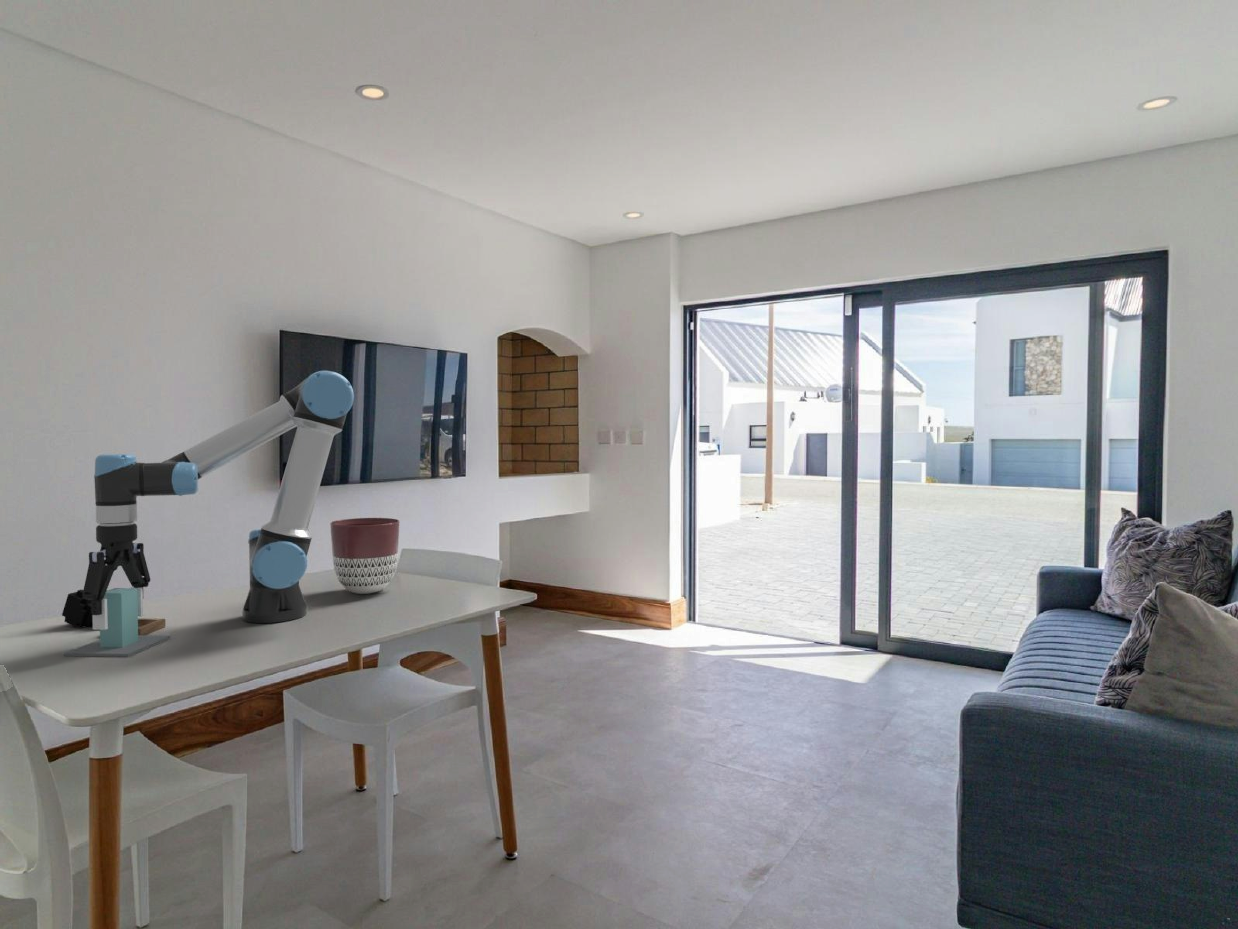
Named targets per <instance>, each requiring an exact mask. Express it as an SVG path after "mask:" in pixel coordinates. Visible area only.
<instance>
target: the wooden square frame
mask: <svg viewBox="0 0 1238 929" xmlns="http://www.w3.org/2000/svg"><path fill="white" fill-rule="evenodd" d="M165 627H166V618H142V617H141V618H140V617H138V635H149V634H151V633H154V632H156V631H159V630H161V629H164V628H165Z"/></svg>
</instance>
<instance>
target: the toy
mask: <svg viewBox="0 0 1238 929" xmlns="http://www.w3.org/2000/svg"><path fill="white" fill-rule="evenodd" d="M83 590H84V589H79V590H77V591H74V592H70V593H68V594H67V595H66V596H67V597H66V600H65V603H64V606H63V610H62V614H61V616H62V617H64V623H67V624H69V625H71V626H73V627H75V628H78V627H82V628H86V627H89V626H93V616H92V613H91V609H92V608H91V600H86V599H83V598H82V594H83ZM89 593H90V592H89ZM98 594H99V592H98Z"/></svg>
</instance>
